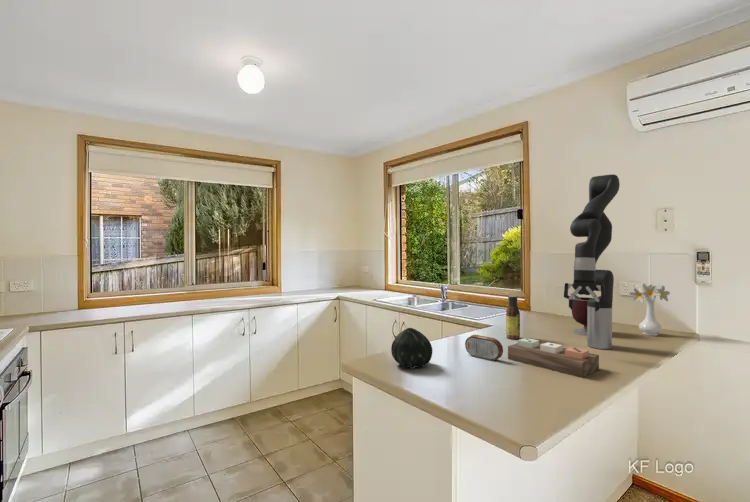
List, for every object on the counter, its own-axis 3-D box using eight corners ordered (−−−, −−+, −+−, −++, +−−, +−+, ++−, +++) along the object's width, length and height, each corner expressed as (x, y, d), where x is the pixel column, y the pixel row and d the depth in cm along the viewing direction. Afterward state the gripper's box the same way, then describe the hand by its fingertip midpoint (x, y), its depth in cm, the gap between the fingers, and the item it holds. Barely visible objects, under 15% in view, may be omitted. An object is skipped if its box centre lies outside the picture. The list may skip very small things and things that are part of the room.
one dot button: (547, 351, 144) (547, 341, 144) (562, 354, 139) (562, 344, 139) (540, 354, 140) (540, 344, 140) (555, 357, 136) (555, 347, 136)
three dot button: (572, 356, 137) (572, 346, 137) (588, 360, 132) (588, 349, 132) (565, 359, 133) (565, 349, 133) (581, 363, 129) (581, 352, 129)
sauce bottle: (521, 340, 175) (521, 297, 175) (507, 339, 177) (507, 297, 176) (518, 336, 182) (518, 295, 182) (505, 336, 183) (505, 295, 183)
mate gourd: (591, 329, 197) (591, 291, 197) (609, 335, 183) (609, 294, 183) (562, 330, 196) (562, 291, 196) (578, 336, 182) (579, 295, 182)
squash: (423, 342, 149) (402, 316, 145) (446, 354, 136) (423, 325, 131) (399, 370, 145) (376, 344, 140) (420, 384, 132) (395, 356, 127)
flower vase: (625, 334, 187) (625, 283, 187) (646, 330, 195) (646, 281, 195) (655, 339, 175) (655, 286, 175) (675, 335, 184) (676, 284, 184)
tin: (503, 361, 144) (503, 339, 143) (499, 363, 141) (499, 340, 141) (467, 353, 154) (467, 332, 154) (463, 355, 151) (463, 334, 151)
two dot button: (525, 346, 151) (525, 337, 151) (539, 349, 146) (539, 340, 146) (517, 349, 147) (517, 339, 147) (531, 352, 143) (531, 342, 143)
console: (526, 352, 155) (527, 340, 155) (598, 369, 134) (598, 355, 134) (507, 359, 146) (507, 346, 146) (581, 377, 125) (581, 362, 125)
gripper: (605, 270, 149) (605, 311, 149) (565, 268, 157) (564, 307, 157) (605, 269, 143) (604, 312, 142) (563, 268, 151) (562, 309, 150)
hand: (583, 310), depth 149 cm, fingers open, 8 cm apart
